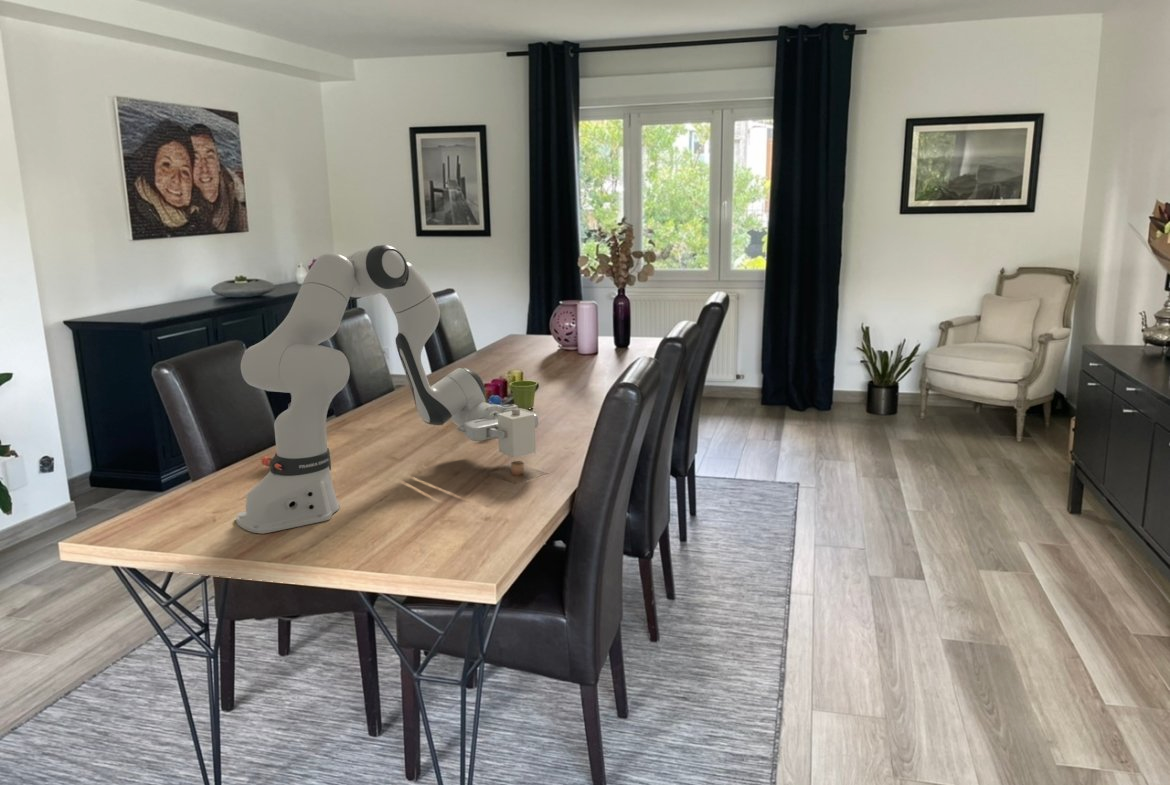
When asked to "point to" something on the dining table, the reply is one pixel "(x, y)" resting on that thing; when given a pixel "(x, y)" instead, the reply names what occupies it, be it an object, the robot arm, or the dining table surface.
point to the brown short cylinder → (517, 468)
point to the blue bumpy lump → (495, 400)
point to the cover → (517, 433)
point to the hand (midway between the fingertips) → (518, 432)
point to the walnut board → (527, 475)
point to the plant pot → (523, 393)
